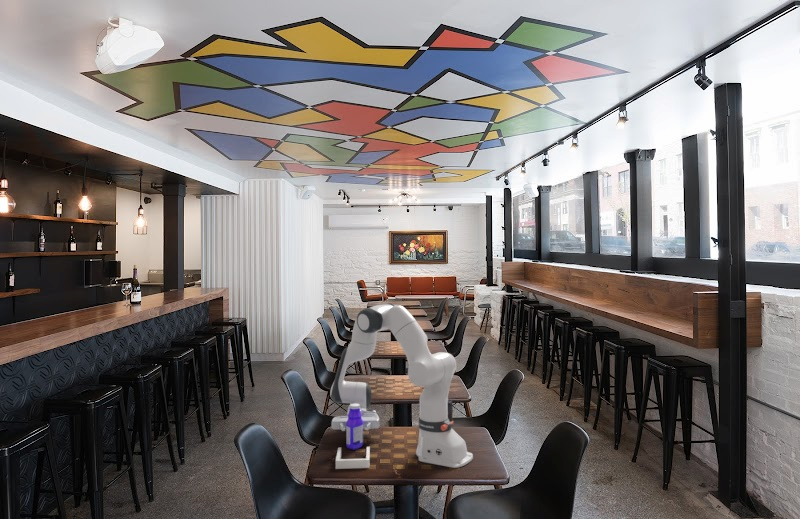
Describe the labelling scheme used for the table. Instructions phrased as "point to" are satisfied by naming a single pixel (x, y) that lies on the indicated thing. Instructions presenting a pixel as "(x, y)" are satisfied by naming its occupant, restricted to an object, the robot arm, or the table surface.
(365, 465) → the bottle holder
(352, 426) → the bottle
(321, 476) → the table surface
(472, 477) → the table surface
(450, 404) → the camera lens
